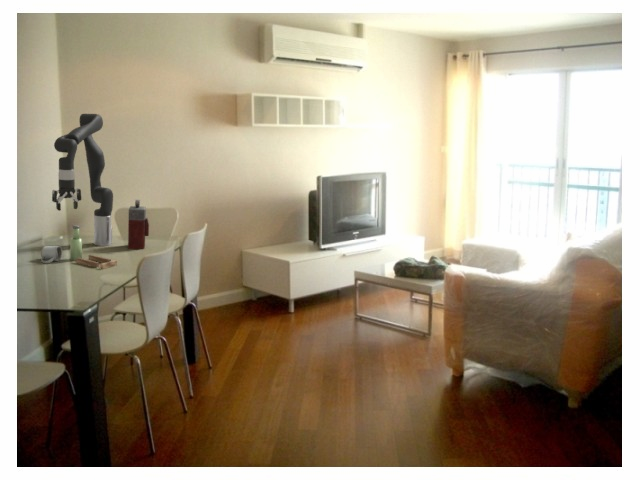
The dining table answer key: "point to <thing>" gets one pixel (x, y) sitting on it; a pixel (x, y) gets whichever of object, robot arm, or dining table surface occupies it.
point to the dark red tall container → (137, 226)
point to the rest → (105, 262)
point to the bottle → (75, 244)
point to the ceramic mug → (51, 253)
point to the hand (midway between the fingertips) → (67, 209)
